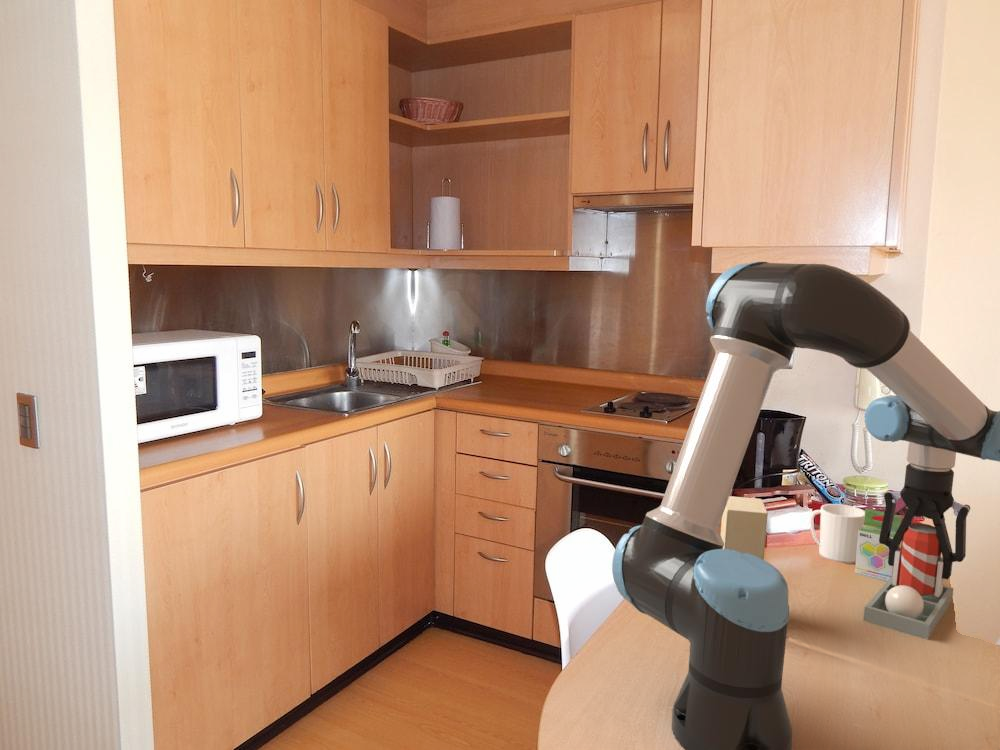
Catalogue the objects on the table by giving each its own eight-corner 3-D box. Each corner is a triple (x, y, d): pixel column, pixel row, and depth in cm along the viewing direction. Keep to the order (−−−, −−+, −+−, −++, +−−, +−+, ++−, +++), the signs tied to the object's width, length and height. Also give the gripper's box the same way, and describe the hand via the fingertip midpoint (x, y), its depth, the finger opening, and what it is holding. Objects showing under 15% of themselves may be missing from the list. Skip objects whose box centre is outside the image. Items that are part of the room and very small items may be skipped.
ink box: (853, 577, 156) (859, 512, 154) (859, 571, 159) (865, 508, 157) (891, 587, 152) (898, 520, 150) (896, 581, 155) (903, 515, 153)
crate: (927, 644, 129) (929, 625, 128) (862, 624, 135) (864, 606, 135) (951, 604, 144) (953, 587, 144) (892, 589, 150) (894, 573, 150)
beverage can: (936, 600, 139) (943, 536, 137) (896, 592, 142) (902, 529, 140) (936, 588, 144) (943, 526, 142) (898, 581, 147) (904, 519, 145)
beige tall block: (762, 632, 131) (772, 512, 128) (717, 627, 133) (725, 509, 130) (757, 612, 139) (766, 498, 136) (714, 607, 141) (722, 495, 138)
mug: (857, 551, 170) (861, 506, 168) (866, 567, 161) (871, 519, 160) (803, 546, 172) (807, 501, 171) (809, 561, 164) (813, 514, 162)
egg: (917, 630, 132) (921, 597, 131) (879, 619, 135) (882, 587, 135) (925, 618, 136) (929, 586, 135) (888, 608, 140) (891, 576, 139)
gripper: (996, 472, 136) (981, 597, 140) (877, 452, 148) (866, 568, 152) (989, 481, 130) (973, 611, 134) (866, 460, 143) (855, 580, 146)
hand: (916, 588), depth 143 cm, fingers closed on beverage can, 6 cm apart
